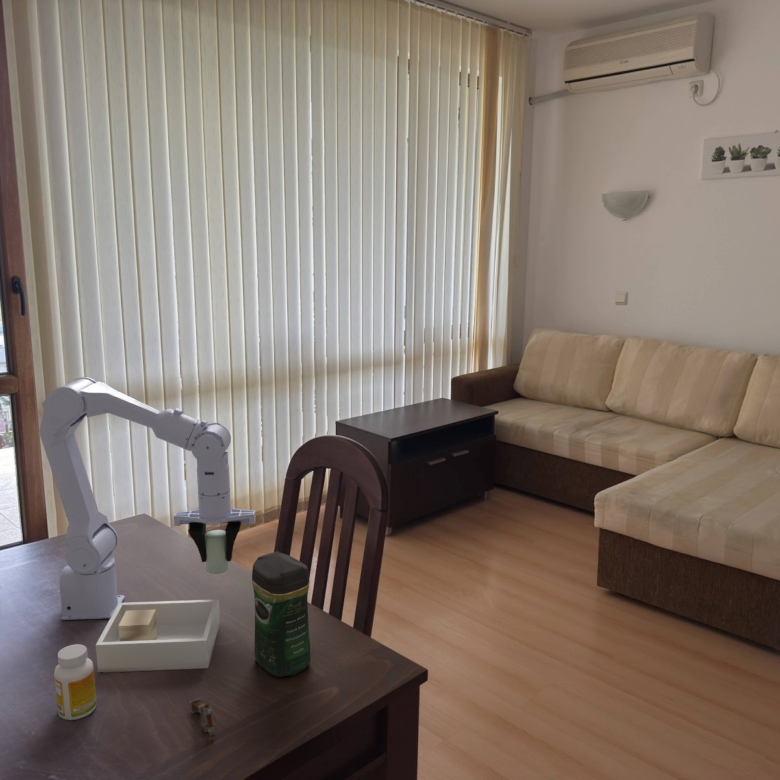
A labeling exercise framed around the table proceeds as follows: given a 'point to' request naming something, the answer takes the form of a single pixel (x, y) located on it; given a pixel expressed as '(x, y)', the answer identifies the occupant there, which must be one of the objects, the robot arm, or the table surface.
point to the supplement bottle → (74, 683)
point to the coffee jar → (281, 614)
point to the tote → (162, 638)
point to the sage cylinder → (216, 551)
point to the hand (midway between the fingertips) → (217, 559)
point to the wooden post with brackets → (207, 710)
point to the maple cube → (138, 625)
